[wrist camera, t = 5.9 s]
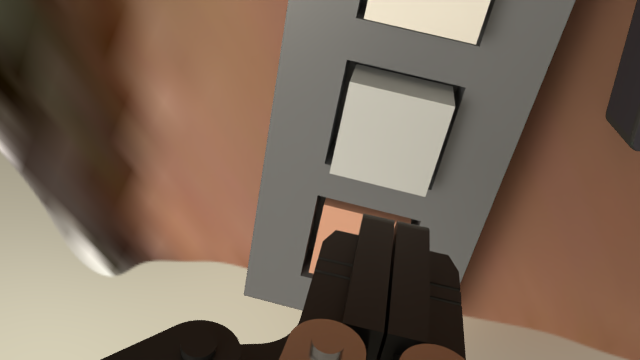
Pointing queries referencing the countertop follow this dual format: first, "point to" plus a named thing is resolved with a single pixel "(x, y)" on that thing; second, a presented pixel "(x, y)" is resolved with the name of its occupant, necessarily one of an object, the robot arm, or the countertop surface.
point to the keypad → (326, 113)
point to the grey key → (392, 129)
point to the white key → (432, 16)
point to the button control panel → (628, 88)
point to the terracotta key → (344, 222)
